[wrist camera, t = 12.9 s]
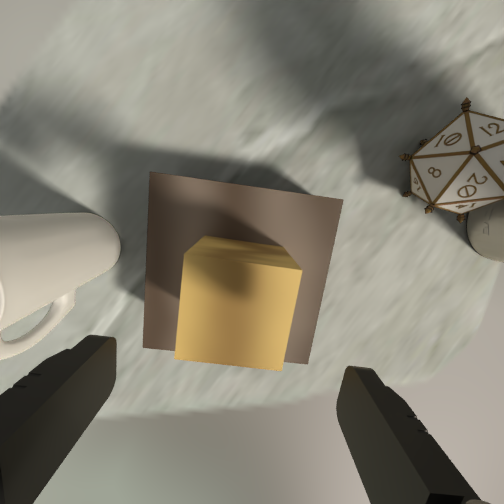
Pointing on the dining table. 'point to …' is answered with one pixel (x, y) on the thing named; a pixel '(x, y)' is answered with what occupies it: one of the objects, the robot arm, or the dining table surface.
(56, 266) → the mug
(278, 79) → the dining table surface
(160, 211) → the riser
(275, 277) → the ochre block
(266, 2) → the dining table surface
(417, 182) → the game die
